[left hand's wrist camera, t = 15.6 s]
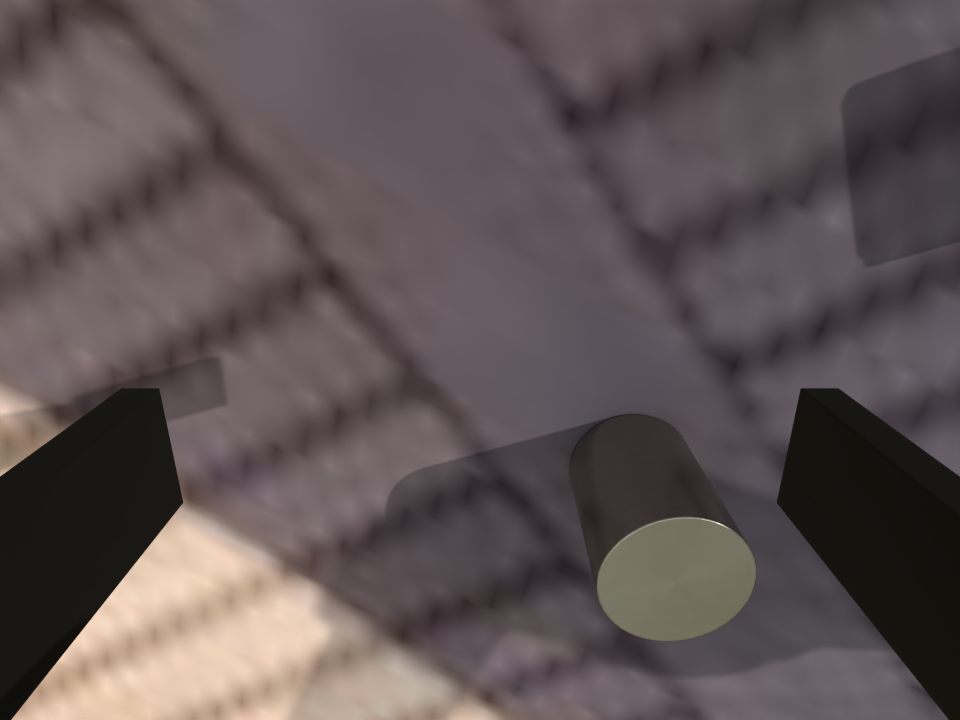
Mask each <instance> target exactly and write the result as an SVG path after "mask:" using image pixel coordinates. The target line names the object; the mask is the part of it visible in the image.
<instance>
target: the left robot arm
mask: <svg viewBox="0 0 960 720" xmlns="http://www.w3.org/2000/svg"><path fill="white" fill-rule="evenodd" d="M182 504H183V499H182V495H181V490H180V485H179V480H178V476H177V471H176V466H175V461H174V457H173V452H172V447H171V442H170V438H169V433H168V428H167V423H166V419H165V414H164V409H163V405H162V400H161V395H160V390H159V388H122V389H120V390H119V391H118V392H116V393H115V394H113V395H112V396H111V397H109V398H108V399H107V400H105V401H104V402H102V403H101V404H100V405H98V406H97V407H95V408H94V409H93V410H91V411H90V412H89V413H87V414H86V415H84V416H83V417H82V418H80V419H79V420H78V421H76V422H75V423H73V424H72V425H71V426H69V427H68V428H67V429H65V430H64V431H62V432H61V433H60V434H58V435H57V436H56V437H54V438H53V439H51V440H50V441H49V442H47V443H46V444H45V445H43V446H42V447H40V448H39V449H38V450H36V451H35V452H34V453H32V454H31V455H29V456H28V457H27V458H25V459H24V460H22V461H21V462H20V463H18V464H17V465H16V466H14V467H13V468H11V469H10V470H9V471H7V472H6V473H5V474H3V475H2V476H0V720H11V719H12V718H13V717H14V715H15V714H16V713H17V712H18V710H19V709H20V708H21V707H22V705H23V704H24V703H25V702H26V700H27V699H28V698H29V697H30V695H31V694H32V693H33V691H34V690H35V689H36V688H37V686H38V685H39V684H40V683H41V681H42V680H43V679H44V678H45V676H46V675H47V674H48V673H49V671H50V670H51V669H52V668H53V666H54V665H55V664H56V662H57V661H58V660H59V659H60V657H61V656H62V655H63V654H64V652H65V651H66V650H67V649H68V647H69V646H70V645H71V644H72V642H73V641H74V640H75V638H76V637H77V636H78V635H79V633H80V632H81V631H82V630H83V628H84V627H85V626H86V625H87V623H88V622H89V621H90V620H91V618H92V617H93V616H94V615H95V613H96V612H97V611H98V609H99V608H100V607H101V606H102V604H103V603H104V602H105V601H106V599H107V598H108V597H109V596H110V594H111V593H112V592H113V591H114V589H115V588H116V587H117V586H118V584H119V583H120V582H121V580H122V579H123V578H124V577H125V575H126V574H127V573H128V572H129V570H130V569H131V568H132V567H133V565H134V564H135V563H136V562H137V560H138V559H139V558H140V557H141V555H142V554H143V553H144V551H145V550H146V549H147V548H148V546H149V545H150V544H151V543H152V541H153V540H154V539H155V538H156V536H157V535H158V534H159V533H160V531H161V530H162V529H163V528H164V526H165V525H166V524H167V522H168V521H169V520H170V519H171V517H172V516H173V515H174V514H175V512H176V511H177V510H178V509H179V507H180V506H181V505H182ZM777 504H778V505H779V506H780V507H781V509H782V510H783V511H784V512H785V514H786V515H787V516H788V517H789V519H790V520H791V521H792V522H793V524H794V525H795V526H796V528H797V529H798V530H799V531H800V533H801V534H802V535H803V536H804V538H805V539H806V540H807V541H808V543H809V544H810V545H811V546H812V548H813V549H814V550H815V551H816V553H817V554H818V555H819V557H820V558H821V559H822V560H823V562H824V563H825V564H826V565H827V567H828V568H829V569H830V570H831V572H832V573H833V574H834V575H835V577H836V578H837V579H838V580H839V582H840V583H841V584H842V586H843V587H844V588H845V589H846V591H847V592H848V593H849V594H850V596H851V597H852V598H853V599H854V601H855V602H856V603H857V604H858V606H859V607H860V608H861V609H862V611H863V612H864V613H865V615H866V616H867V617H868V618H869V620H870V621H871V622H872V623H873V625H874V626H875V627H876V628H877V630H878V631H879V632H880V633H881V635H882V636H883V637H884V638H885V640H886V641H887V642H888V644H889V645H890V646H891V647H892V649H893V650H894V651H895V652H896V654H897V655H898V656H899V657H900V659H901V660H902V661H903V662H904V664H905V665H906V666H907V668H908V669H909V670H910V671H911V673H912V674H913V675H914V676H915V678H916V679H917V680H918V681H919V683H920V684H921V685H922V686H923V688H924V689H925V690H926V691H927V693H928V694H929V695H930V697H931V698H932V699H933V700H934V702H935V703H936V704H937V705H938V707H939V708H940V709H941V710H942V712H943V713H944V714H945V715H946V717H947V718H948V719H949V720H960V476H958V475H957V474H955V473H954V472H953V471H951V470H950V469H949V468H947V467H946V466H944V465H943V464H942V463H940V462H939V461H938V460H936V459H935V458H933V457H932V456H931V455H929V454H928V453H926V452H925V451H924V450H922V449H921V448H920V447H918V446H917V445H915V444H914V443H913V442H911V441H910V440H909V439H907V438H906V437H904V436H903V435H902V434H900V433H899V432H898V431H896V430H895V429H893V428H892V427H891V426H889V425H888V424H887V423H885V422H884V421H882V420H881V419H880V418H878V417H877V416H876V415H874V414H873V413H871V412H870V411H869V410H867V409H866V408H865V407H863V406H862V405H860V404H859V403H858V402H856V401H855V400H853V399H852V398H851V397H849V396H848V395H847V394H845V393H844V392H842V391H841V390H840V389H838V388H801V390H800V395H799V400H798V405H797V409H796V414H795V419H794V423H793V428H792V433H791V438H790V442H789V447H788V452H787V457H786V461H785V466H784V471H783V476H782V480H781V485H780V490H779V495H778V499H777Z"/></svg>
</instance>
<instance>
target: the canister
mask: <svg viewBox="0 0 960 720" xmlns="http://www.w3.org/2000/svg"><path fill="white" fill-rule="evenodd" d="M570 480H571V484H572V488H573V492H574V497H575V501H576V505H577V510H578V514H579V518H580V522H581V527H582V531H583V535H584V539H585V544H586V548H587V552H588V557H589V561H590V565H591V569H592V574H593V578H594V582H595V587H596V591H597V595H598V598H599V602H600V604H601V606H602V608H603V610H604V611H605V613H606V614H607V616H608V617H609V618H610V619H611V620H612V621H613V622H614V623H615V624H616V625H618V626H619V627H620V628H622V629H623V630H625V631H627V632H629V633H631V634H633V635H635V636H638V637H642V638H645V639H650V640H656V641H679V640H686V639H691V638H695V637H698V636H701V635H704V634H707V633H709V632H711V631H714V630H715V629H717V628H719V627H721V626H722V625H724V624H725V623H727V622H728V621H730V620H731V619H732V618H733V617H734V616H736V615H737V614H738V612H739V611H740V610H741V609H742V608H743V607H744V605H745V604H746V603H747V601H748V599H749V598H750V596H751V594H752V591H753V588H754V586H755V581H756V563H755V558H754V555H753V552H752V550H751V549H750V547H749V545H748V543H747V542H746V540H745V538H744V537H743V535H742V534H741V532H740V530H739V529H738V527H737V525H736V524H735V522H734V520H733V519H732V517H731V516H730V514H729V512H728V511H727V509H726V507H725V506H724V504H723V503H722V501H721V499H720V498H719V496H718V494H717V493H716V491H715V489H714V488H713V486H712V485H711V483H710V481H709V480H708V478H707V476H706V475H705V473H704V472H703V470H702V468H701V467H700V465H699V463H698V462H697V460H696V458H695V457H694V455H693V454H692V452H691V450H690V449H689V447H688V445H687V444H686V442H685V441H684V439H683V437H682V436H681V435H680V433H679V432H678V431H677V430H676V429H675V428H674V427H672V426H671V425H669V424H668V423H666V422H664V421H662V420H660V419H657V418H655V417H651V416H646V415H623V416H618V417H614V418H611V419H609V420H606V421H604V422H602V423H600V424H598V425H597V426H595V427H594V428H592V429H591V430H590V431H589V432H588V433H586V434H585V436H584V437H583V438H582V439H581V440H580V442H579V443H578V444H577V446H576V448H575V450H574V452H573V455H572V457H571V462H570Z"/></svg>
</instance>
